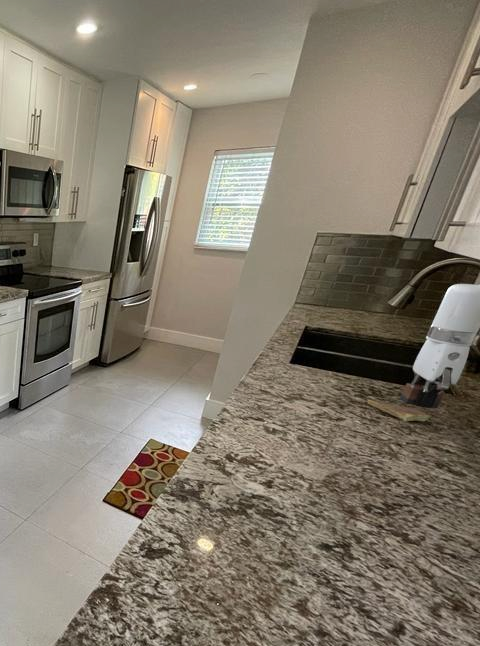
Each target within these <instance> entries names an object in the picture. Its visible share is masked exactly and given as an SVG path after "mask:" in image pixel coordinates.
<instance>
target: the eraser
mask: <svg viewBox="0 0 480 646" xmlns="http://www.w3.org/2000/svg"><path fill="white" fill-rule="evenodd" d="M423 389H424V386H422V385H415V384H412V383H410V382H409V383H406V384H405V386H404V389H403V390H402V394H401V395H400V397H399V400H401V401H402V402H403V403H405V404H407V405H412V406H415V405H414V404H415V401H416V399H417V397H418V395H419V393H420V391H423ZM445 393H446V392H445V391H444V390H443V391H441V393H440V394H439V395H438V396H437V398H436V400H435V402H434V404H433V406H432V408H431V409H438V408H439V406H440V403H441V402H442V399H443V398H444V396H445Z"/></svg>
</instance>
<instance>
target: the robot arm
mask: <svg viewBox="0 0 480 646" xmlns="http://www.w3.org/2000/svg"><path fill="white" fill-rule="evenodd" d="M479 330H480V284H471V283H457V284H453V285H451V286H450V287H448V289H447V291H446V292H445V294H444V297H443V299H442V301H441V303H440V305H439V308H438V310H437V313H436V314H435V316H434V319H433V321H432V323H431V325H430V327H429V330H428V332H427V334H426V336H425V339H426V340H425V342H424V344H423V345H422V347H421V349H420V351H419V352H418V354H417V356H416V358H415V361H414V363H413V366H412V371H413V374H414V375H413V377H414V378H413V379H412V381H411V384H415V385H422V386H424V389H423V391H420V393H419V395H418V397H417V399H416V401H415V404H414V405H413V406H416V407H420V408H425V409H433V408H432V406H433V404H434V402H435V400H436V398H437V396H438V395H439V394H440V393H441V391H443V392H444V391H447V390H449V388H450V386H455V385H456V384H457V383H458V382H459V379H460V377H461V376H462V373H463V370H464V368H465V365H466V363H467V359H468V357H469V353H470V348H471V346H472V344H473V342H474V340H475V338H476V336H477V335H478V332H479ZM432 384H433V385H432Z"/></svg>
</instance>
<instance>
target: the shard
mask: <svg viewBox="0 0 480 646" xmlns="http://www.w3.org/2000/svg"><path fill="white" fill-rule="evenodd" d="M366 400H367V405H370V406H372V407H374V408H377V409H379V410H381V411H383V412H385V413H388V414H389V415H391V416H394V417H396V418H398V419H401V420H402V421H403V422H412V421H417V422H426V421H428V419H430V418H431V415H430V414H427V413H425V412H422V411H420V410H418V409H415V408H411V407H408V406H404V405H401V404H395V403H390V402H384V401H380V400H375V399H372V398H371V399H370V398H366Z"/></svg>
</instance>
